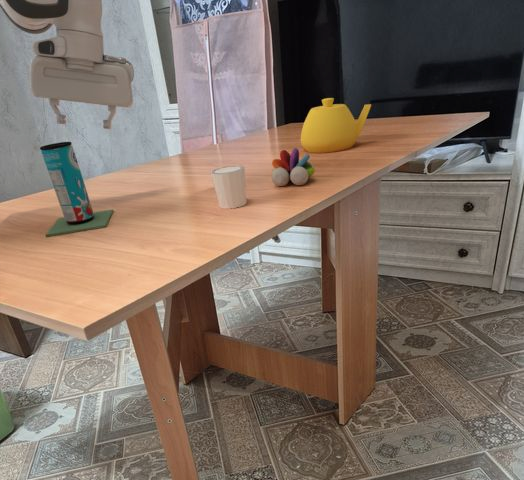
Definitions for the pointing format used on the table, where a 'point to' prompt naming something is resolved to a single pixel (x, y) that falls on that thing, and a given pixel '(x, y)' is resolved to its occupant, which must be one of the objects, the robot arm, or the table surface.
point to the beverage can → (68, 182)
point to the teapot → (331, 127)
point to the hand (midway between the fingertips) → (84, 126)
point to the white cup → (230, 186)
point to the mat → (65, 228)
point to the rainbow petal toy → (291, 168)
